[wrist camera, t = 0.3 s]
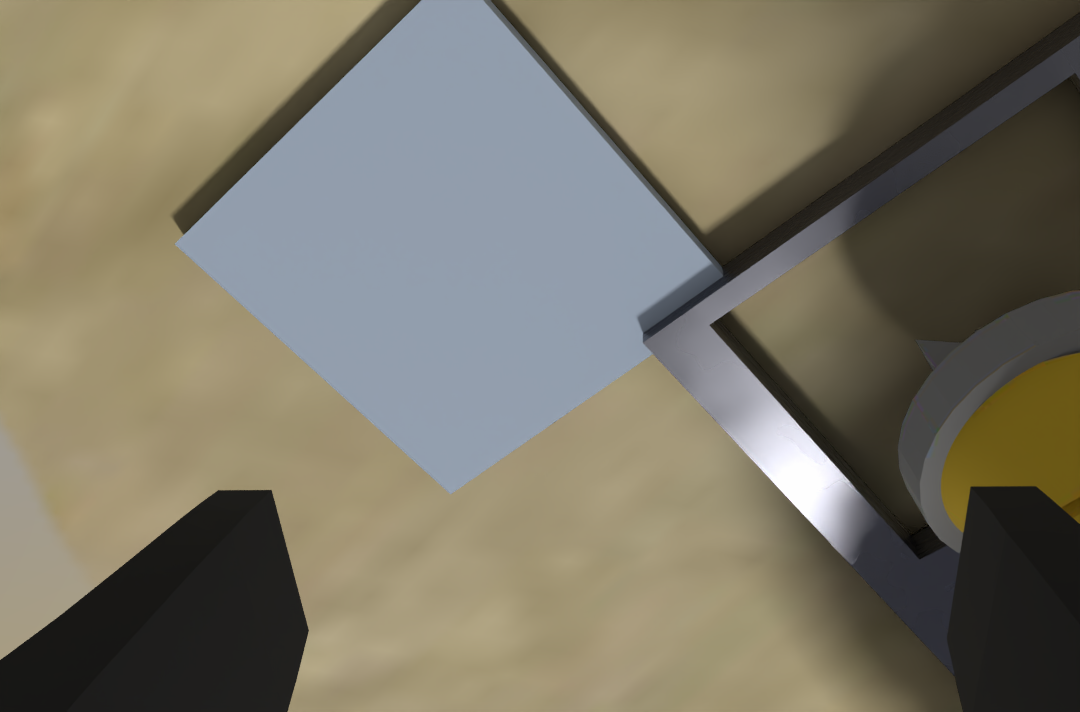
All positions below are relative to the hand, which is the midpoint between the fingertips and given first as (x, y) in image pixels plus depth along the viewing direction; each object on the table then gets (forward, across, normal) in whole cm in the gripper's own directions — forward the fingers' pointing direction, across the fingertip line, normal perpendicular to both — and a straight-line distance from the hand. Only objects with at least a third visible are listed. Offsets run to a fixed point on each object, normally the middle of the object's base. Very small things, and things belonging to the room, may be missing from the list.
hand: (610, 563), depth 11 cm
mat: (+10, +4, +1) cm, 11 cm away
